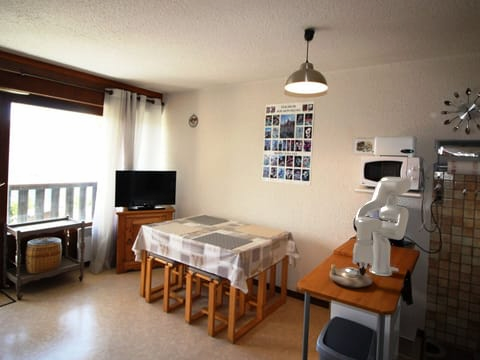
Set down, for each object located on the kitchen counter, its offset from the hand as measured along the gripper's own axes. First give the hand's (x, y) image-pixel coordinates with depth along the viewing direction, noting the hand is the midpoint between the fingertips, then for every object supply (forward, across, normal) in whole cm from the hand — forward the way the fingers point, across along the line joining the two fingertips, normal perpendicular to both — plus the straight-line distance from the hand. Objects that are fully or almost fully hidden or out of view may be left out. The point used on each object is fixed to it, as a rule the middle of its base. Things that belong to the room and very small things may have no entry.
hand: (362, 274), depth 160 cm
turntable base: (+5, +6, 0) cm, 8 cm away
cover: (+1, +6, 0) cm, 6 cm away
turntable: (+3, +6, 0) cm, 7 cm away
